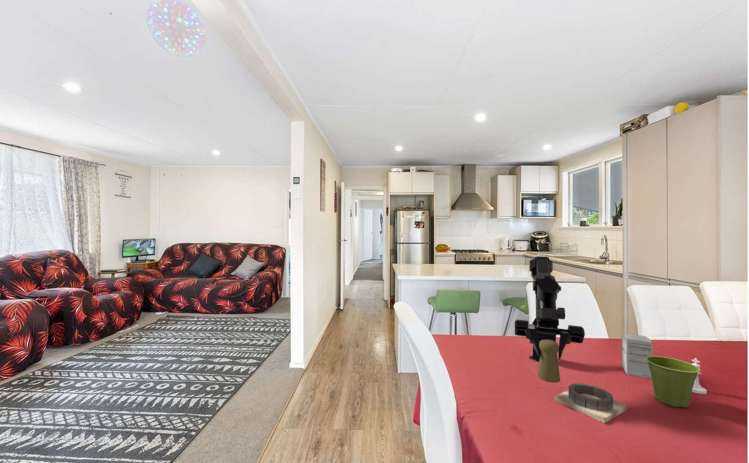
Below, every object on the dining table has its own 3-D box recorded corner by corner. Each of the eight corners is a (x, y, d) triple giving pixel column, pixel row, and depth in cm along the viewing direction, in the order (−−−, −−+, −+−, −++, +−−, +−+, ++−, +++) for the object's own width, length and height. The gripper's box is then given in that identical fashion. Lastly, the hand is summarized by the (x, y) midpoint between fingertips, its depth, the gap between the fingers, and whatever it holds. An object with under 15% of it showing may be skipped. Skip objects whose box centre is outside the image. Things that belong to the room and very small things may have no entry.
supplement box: (621, 366, 118) (621, 332, 118) (647, 371, 115) (647, 335, 115) (625, 374, 112) (625, 338, 112) (653, 379, 108) (653, 341, 108)
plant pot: (707, 417, 85) (707, 375, 86) (649, 405, 92) (649, 365, 92) (693, 398, 95) (693, 360, 96) (641, 388, 102) (642, 352, 102)
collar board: (578, 389, 100) (578, 378, 100) (627, 409, 89) (627, 396, 89) (554, 400, 94) (554, 387, 94) (604, 423, 83) (604, 408, 83)
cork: (564, 382, 92) (565, 344, 92) (543, 382, 92) (543, 344, 92) (553, 373, 98) (553, 337, 98) (533, 373, 98) (533, 337, 98)
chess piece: (703, 395, 98) (703, 362, 98) (682, 388, 102) (682, 357, 102) (709, 391, 100) (709, 359, 100) (688, 385, 104) (688, 354, 104)
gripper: (514, 294, 102) (514, 339, 92) (583, 299, 94) (591, 349, 84) (515, 313, 109) (514, 356, 99) (579, 319, 102) (585, 367, 92)
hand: (549, 357), depth 94 cm, fingers closed on cork, 5 cm apart
